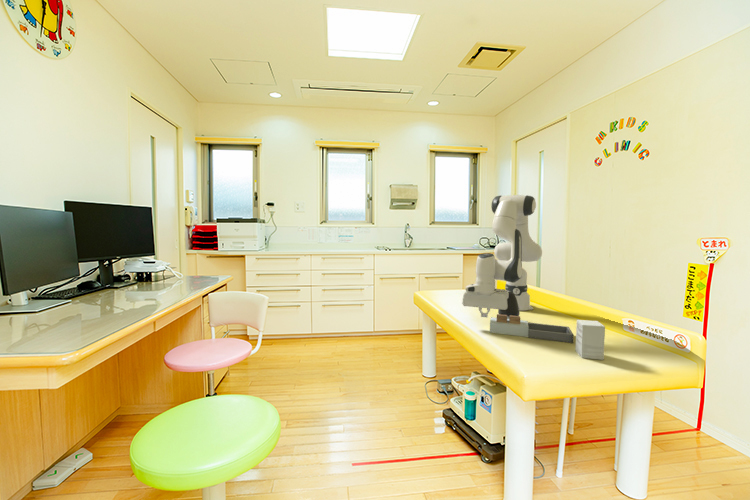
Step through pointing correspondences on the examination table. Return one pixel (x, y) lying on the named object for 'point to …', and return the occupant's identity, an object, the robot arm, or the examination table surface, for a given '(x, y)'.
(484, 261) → the robot arm
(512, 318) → the tile
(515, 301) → the pump dispenser
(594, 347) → the supplement box
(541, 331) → the tray
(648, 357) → the examination table surface
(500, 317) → the tile
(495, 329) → the pale grey flat block
